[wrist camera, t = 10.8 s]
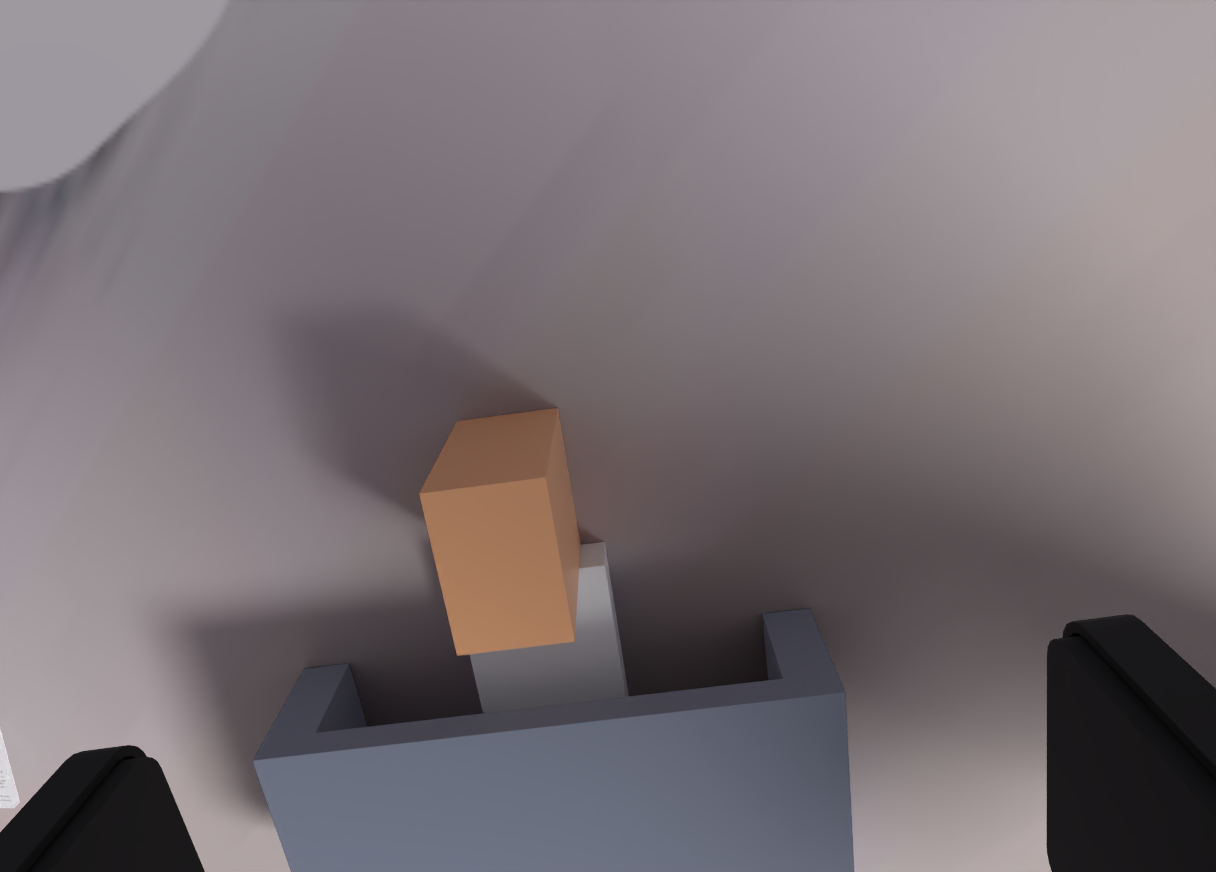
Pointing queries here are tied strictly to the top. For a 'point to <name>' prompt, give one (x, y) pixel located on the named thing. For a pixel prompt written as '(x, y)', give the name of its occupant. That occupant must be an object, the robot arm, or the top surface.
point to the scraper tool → (521, 566)
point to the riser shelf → (574, 778)
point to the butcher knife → (6, 780)
